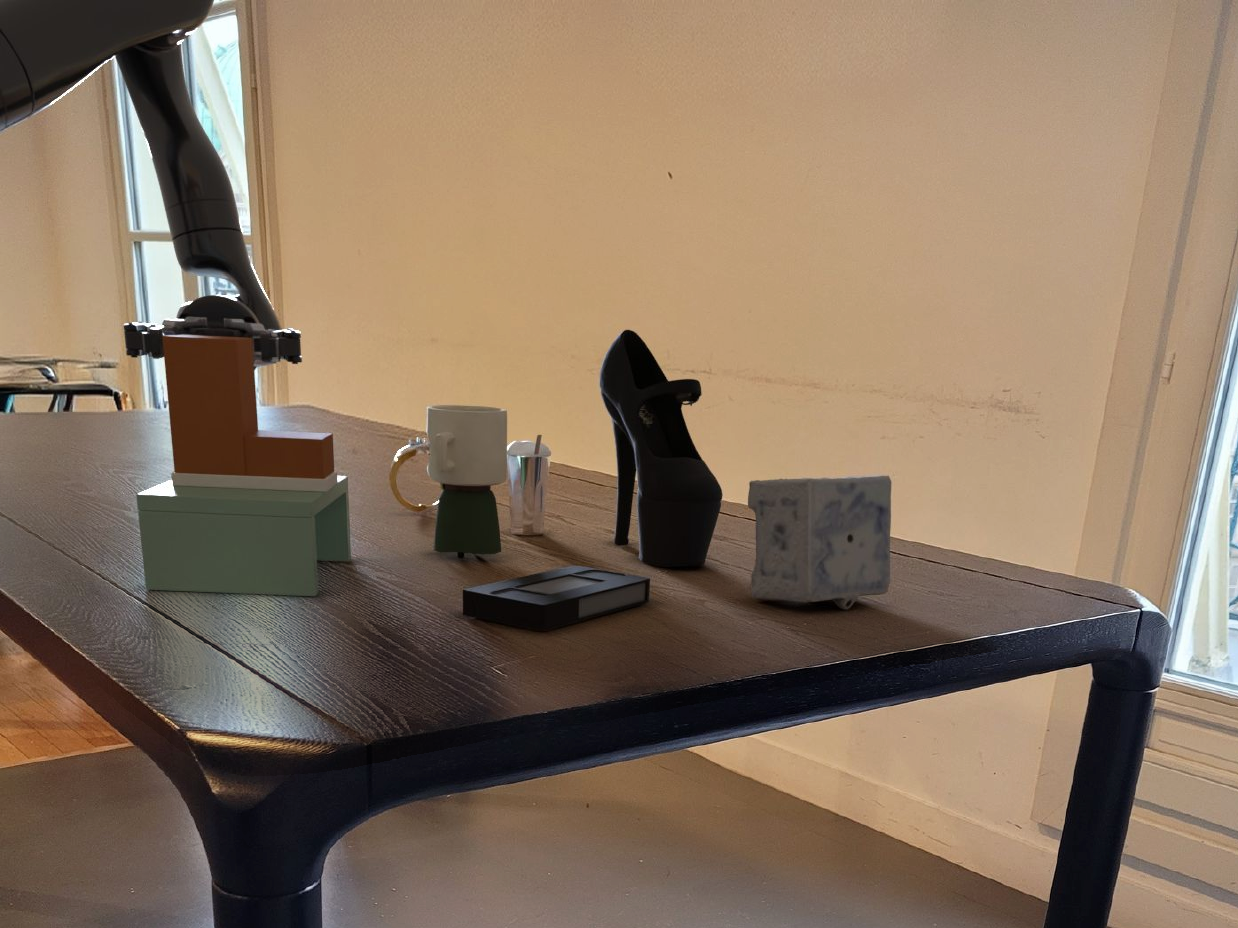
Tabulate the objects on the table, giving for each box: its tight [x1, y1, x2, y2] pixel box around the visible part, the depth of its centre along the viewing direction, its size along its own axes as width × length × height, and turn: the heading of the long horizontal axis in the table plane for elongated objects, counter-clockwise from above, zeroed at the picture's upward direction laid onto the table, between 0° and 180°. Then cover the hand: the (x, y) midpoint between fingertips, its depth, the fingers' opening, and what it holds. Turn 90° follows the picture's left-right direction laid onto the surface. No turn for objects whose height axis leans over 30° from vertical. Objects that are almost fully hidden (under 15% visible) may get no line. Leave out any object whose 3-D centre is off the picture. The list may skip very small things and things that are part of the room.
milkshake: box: [507, 434, 552, 537], centre depth 129 cm, size 4×5×10 cm
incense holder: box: [747, 474, 892, 611], centre depth 105 cm, size 10×8×10 cm
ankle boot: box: [162, 334, 338, 492], centre depth 102 cm, size 12×6×11 cm, turn 93°
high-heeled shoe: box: [598, 329, 723, 568], centre depth 119 cm, size 8×19×20 cm, turn 32°
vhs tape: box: [462, 564, 651, 632], centre depth 99 cm, size 8×14×2 cm, turn 147°
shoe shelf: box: [135, 475, 352, 597], centre depth 105 cm, size 13×16×7 cm
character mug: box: [425, 404, 508, 560], centre depth 116 cm, size 11×7×13 cm, turn 161°
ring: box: [389, 436, 438, 516], centre depth 138 cm, size 7×3×8 cm, turn 100°
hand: (210, 345), depth 104 cm, fingers open, 8 cm apart
